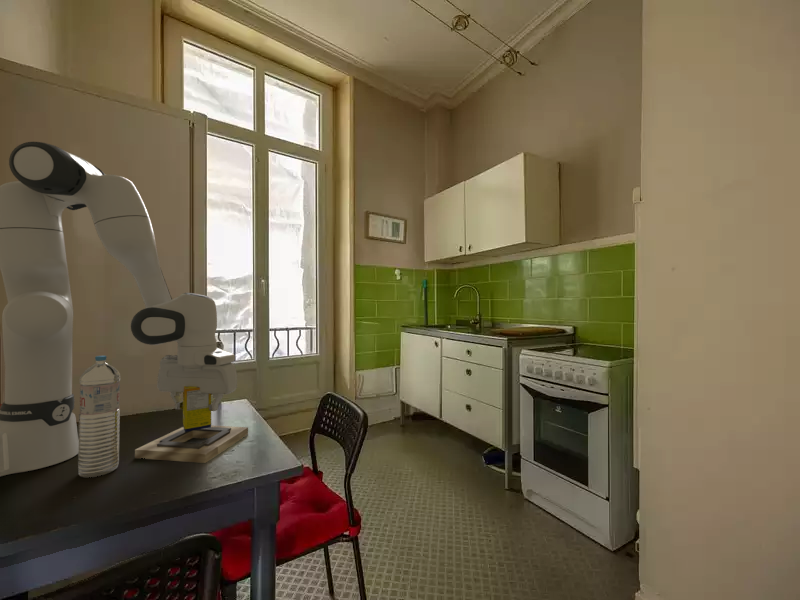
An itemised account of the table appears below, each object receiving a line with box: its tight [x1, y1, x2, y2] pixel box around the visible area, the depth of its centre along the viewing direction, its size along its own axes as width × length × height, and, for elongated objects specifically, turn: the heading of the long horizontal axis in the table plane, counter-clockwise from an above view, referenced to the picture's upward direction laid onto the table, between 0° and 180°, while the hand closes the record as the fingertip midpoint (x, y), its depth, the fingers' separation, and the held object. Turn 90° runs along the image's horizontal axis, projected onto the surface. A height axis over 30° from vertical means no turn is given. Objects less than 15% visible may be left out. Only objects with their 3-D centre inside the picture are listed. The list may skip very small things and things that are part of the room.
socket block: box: [134, 424, 249, 464], centre depth 92 cm, size 18×18×2 cm
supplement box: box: [182, 386, 212, 432], centre depth 93 cm, size 6×6×11 cm
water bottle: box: [77, 355, 121, 479], centre depth 78 cm, size 7×7×25 cm
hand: (196, 409), depth 92 cm, fingers closed on supplement box, 8 cm apart
